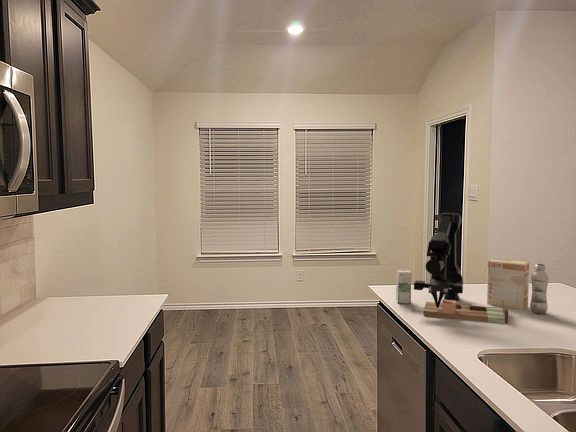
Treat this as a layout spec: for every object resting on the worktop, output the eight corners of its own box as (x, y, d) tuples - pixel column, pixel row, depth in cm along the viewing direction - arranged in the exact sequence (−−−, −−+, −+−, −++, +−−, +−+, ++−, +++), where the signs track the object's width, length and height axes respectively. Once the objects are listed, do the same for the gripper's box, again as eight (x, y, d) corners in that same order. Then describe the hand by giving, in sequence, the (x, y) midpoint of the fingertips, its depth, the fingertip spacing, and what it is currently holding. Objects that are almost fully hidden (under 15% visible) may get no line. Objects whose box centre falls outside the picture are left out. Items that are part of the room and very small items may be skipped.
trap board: (426, 306, 204) (426, 294, 203) (504, 313, 193) (504, 301, 193) (423, 315, 190) (423, 303, 190) (507, 323, 179) (508, 310, 179)
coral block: (442, 309, 192) (442, 299, 191) (455, 310, 190) (455, 300, 190) (441, 312, 187) (442, 302, 187) (455, 314, 185) (455, 304, 185)
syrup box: (408, 300, 213) (409, 269, 212) (411, 304, 207) (411, 271, 206) (396, 300, 214) (396, 268, 212) (397, 303, 208) (398, 271, 207)
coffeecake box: (528, 307, 201) (530, 262, 200) (523, 310, 196) (524, 264, 195) (492, 300, 212) (493, 258, 210) (486, 304, 206) (487, 260, 205)
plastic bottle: (546, 311, 194) (548, 263, 193) (548, 316, 188) (550, 266, 187) (529, 309, 197) (531, 262, 195) (530, 314, 191) (531, 265, 189)
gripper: (412, 271, 185) (411, 310, 187) (463, 275, 179) (461, 315, 180) (415, 266, 196) (414, 303, 197) (463, 269, 189) (462, 307, 190)
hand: (437, 307), depth 191 cm, fingers closed
